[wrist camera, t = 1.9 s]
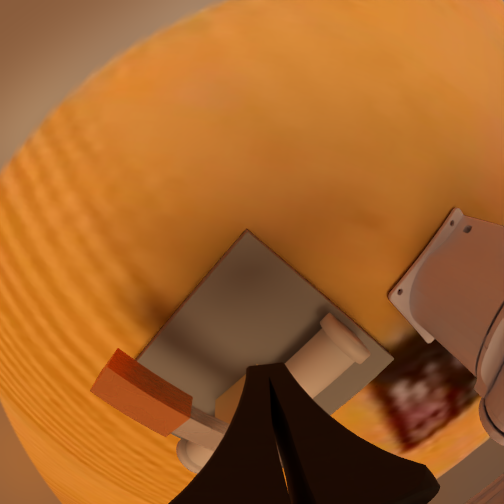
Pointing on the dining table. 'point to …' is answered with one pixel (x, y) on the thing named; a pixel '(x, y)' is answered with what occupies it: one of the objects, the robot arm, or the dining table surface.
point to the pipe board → (258, 338)
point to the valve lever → (156, 402)
